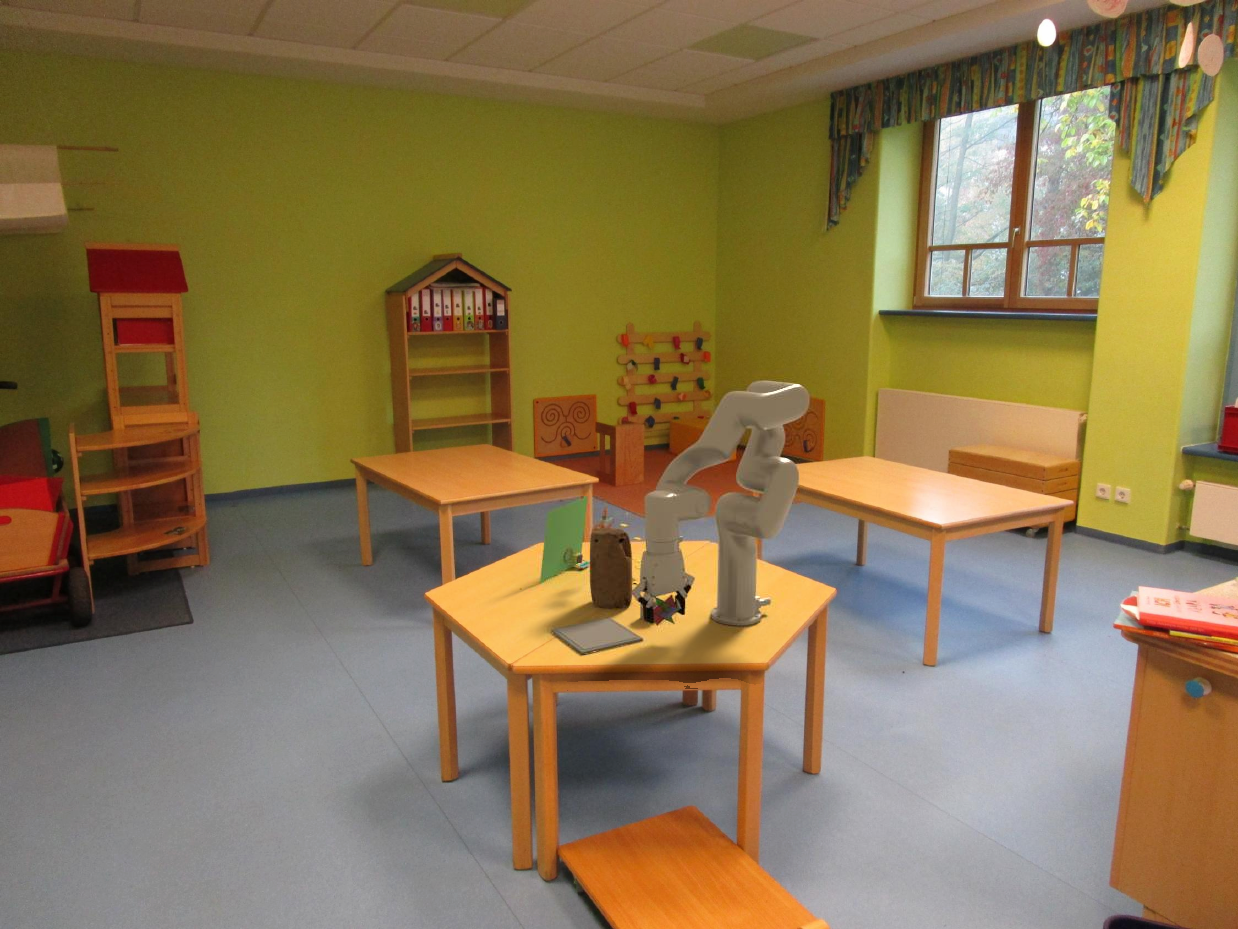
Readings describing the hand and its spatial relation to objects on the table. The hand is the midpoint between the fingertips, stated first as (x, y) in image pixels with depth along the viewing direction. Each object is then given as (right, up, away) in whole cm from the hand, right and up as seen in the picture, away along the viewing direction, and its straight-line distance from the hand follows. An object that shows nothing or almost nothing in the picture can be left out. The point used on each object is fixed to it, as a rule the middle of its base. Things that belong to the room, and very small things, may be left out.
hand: (664, 617), depth 204 cm
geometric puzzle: (0, -2, 0) cm, 2 cm away
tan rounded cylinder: (-3, -3, +15) cm, 16 cm away
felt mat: (-16, -5, +4) cm, 17 cm away
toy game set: (-17, +2, +45) cm, 48 cm away
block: (-12, -1, +26) cm, 29 cm away
